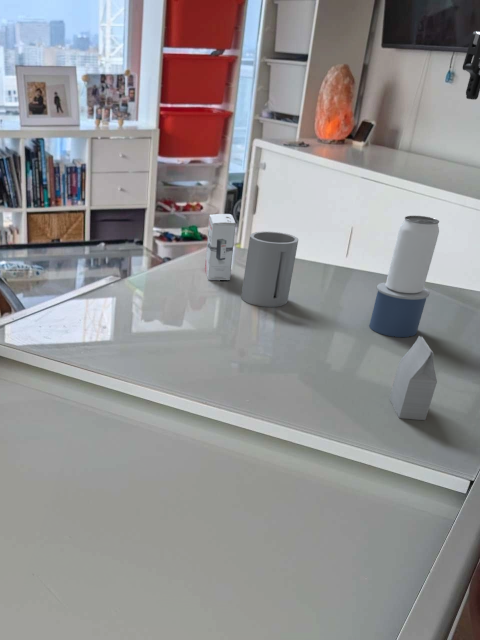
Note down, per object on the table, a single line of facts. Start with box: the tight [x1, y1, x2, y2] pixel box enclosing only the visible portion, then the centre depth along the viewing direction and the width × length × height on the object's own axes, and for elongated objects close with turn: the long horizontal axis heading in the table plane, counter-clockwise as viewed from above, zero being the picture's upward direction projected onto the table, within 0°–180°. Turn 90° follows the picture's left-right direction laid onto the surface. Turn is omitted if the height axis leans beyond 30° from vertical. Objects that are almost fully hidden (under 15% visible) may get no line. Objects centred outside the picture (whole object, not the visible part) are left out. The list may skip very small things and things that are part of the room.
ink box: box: [204, 213, 237, 281], centre depth 161 cm, size 9×5×12 cm, turn 178°
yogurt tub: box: [368, 281, 430, 338], centre depth 138 cm, size 9×9×7 cm
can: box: [385, 215, 440, 294], centre depth 133 cm, size 6×6×12 cm
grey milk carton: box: [388, 335, 438, 421], centre depth 109 cm, size 4×7×10 cm, turn 173°
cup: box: [240, 231, 299, 308], centre depth 149 cm, size 9×9×12 cm
